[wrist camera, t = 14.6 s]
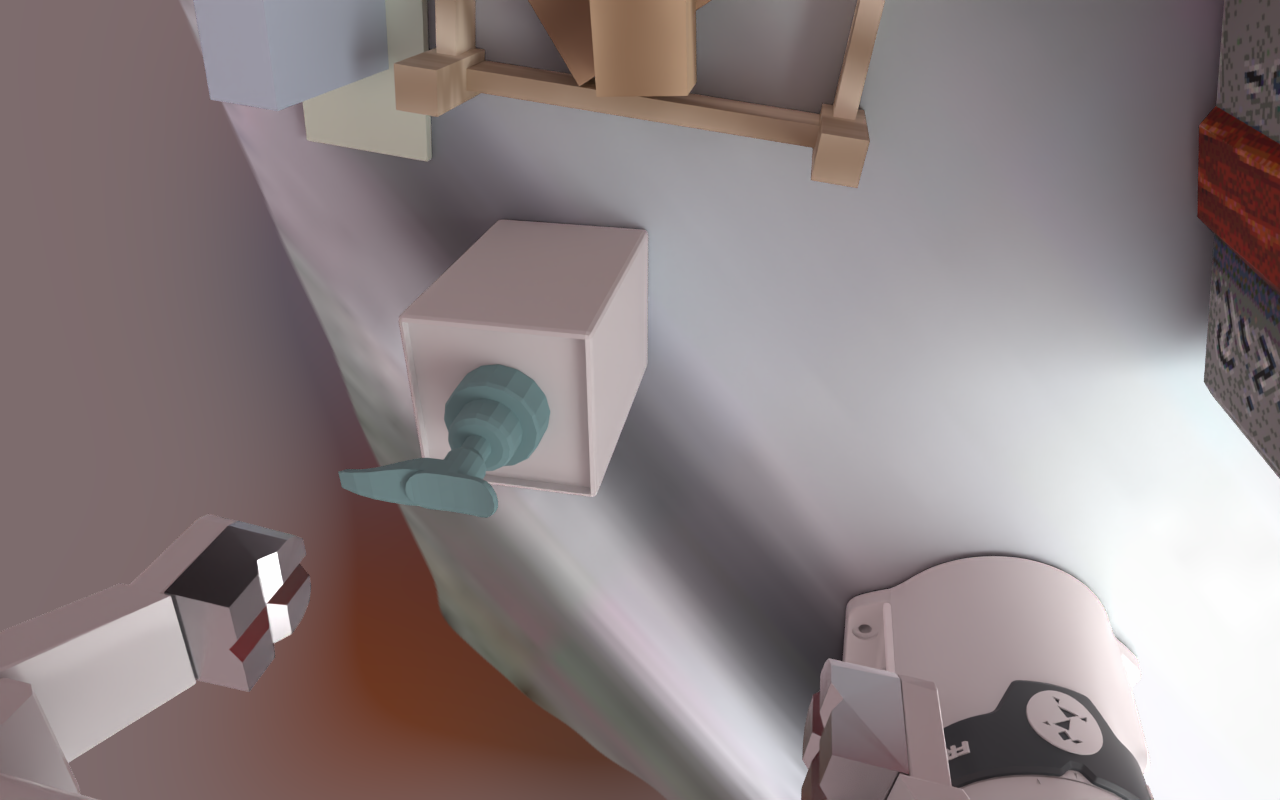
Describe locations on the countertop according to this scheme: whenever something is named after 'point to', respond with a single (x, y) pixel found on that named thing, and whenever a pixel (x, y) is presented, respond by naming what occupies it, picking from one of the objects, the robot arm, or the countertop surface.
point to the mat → (377, 97)
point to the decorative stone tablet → (1245, 224)
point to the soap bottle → (520, 366)
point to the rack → (465, 73)
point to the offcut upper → (644, 47)
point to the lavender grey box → (289, 48)
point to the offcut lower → (573, 32)
